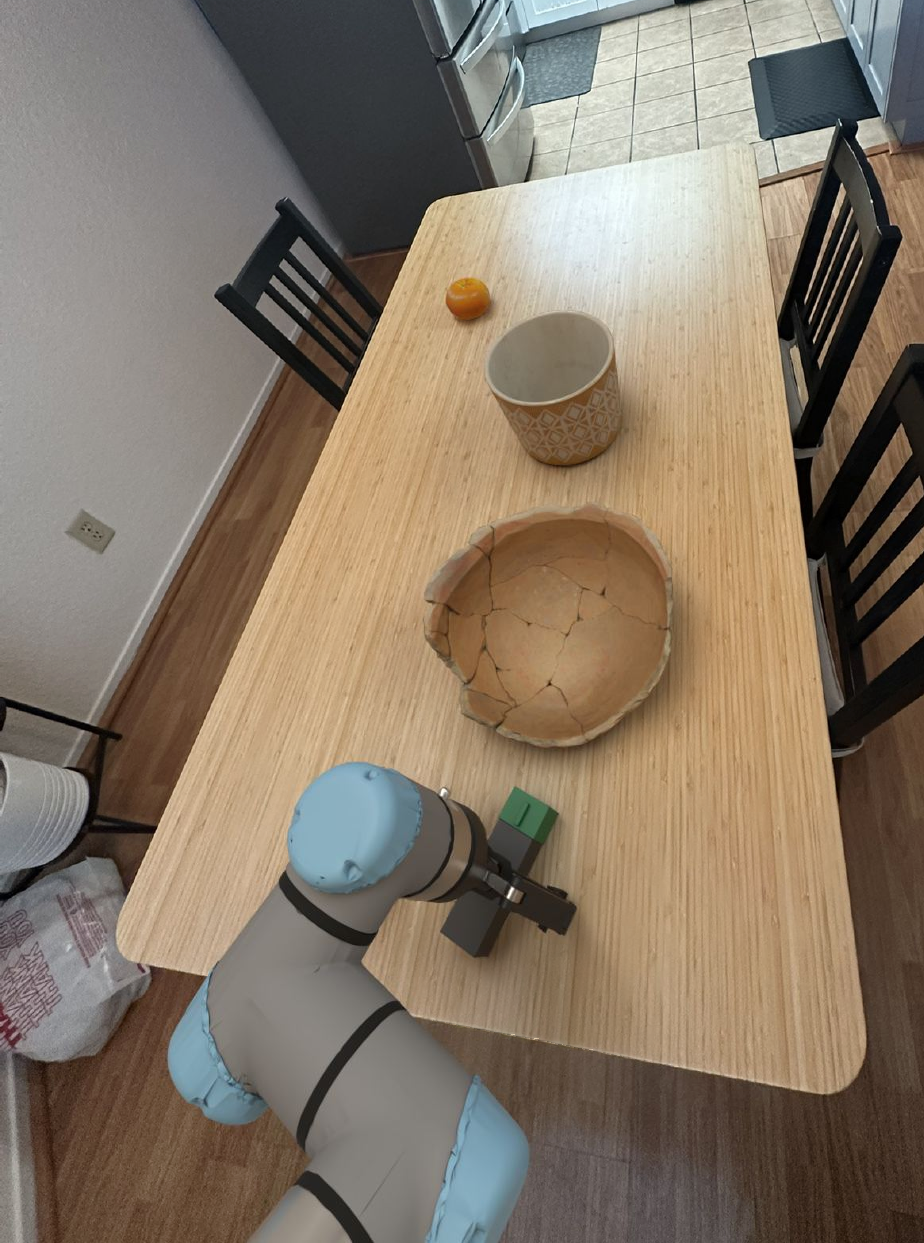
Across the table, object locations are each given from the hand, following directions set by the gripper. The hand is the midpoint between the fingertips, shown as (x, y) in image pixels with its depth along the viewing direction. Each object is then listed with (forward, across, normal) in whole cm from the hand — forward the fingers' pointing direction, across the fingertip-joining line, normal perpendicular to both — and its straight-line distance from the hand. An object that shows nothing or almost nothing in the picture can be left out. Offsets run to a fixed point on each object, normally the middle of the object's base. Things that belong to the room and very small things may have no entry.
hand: (506, 869), depth 69 cm
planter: (+1, +24, -58) cm, 63 cm away
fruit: (+1, +58, -78) cm, 97 cm away
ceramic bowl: (+1, +7, -26) cm, 27 cm away
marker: (+1, 0, 0) cm, 1 cm away
